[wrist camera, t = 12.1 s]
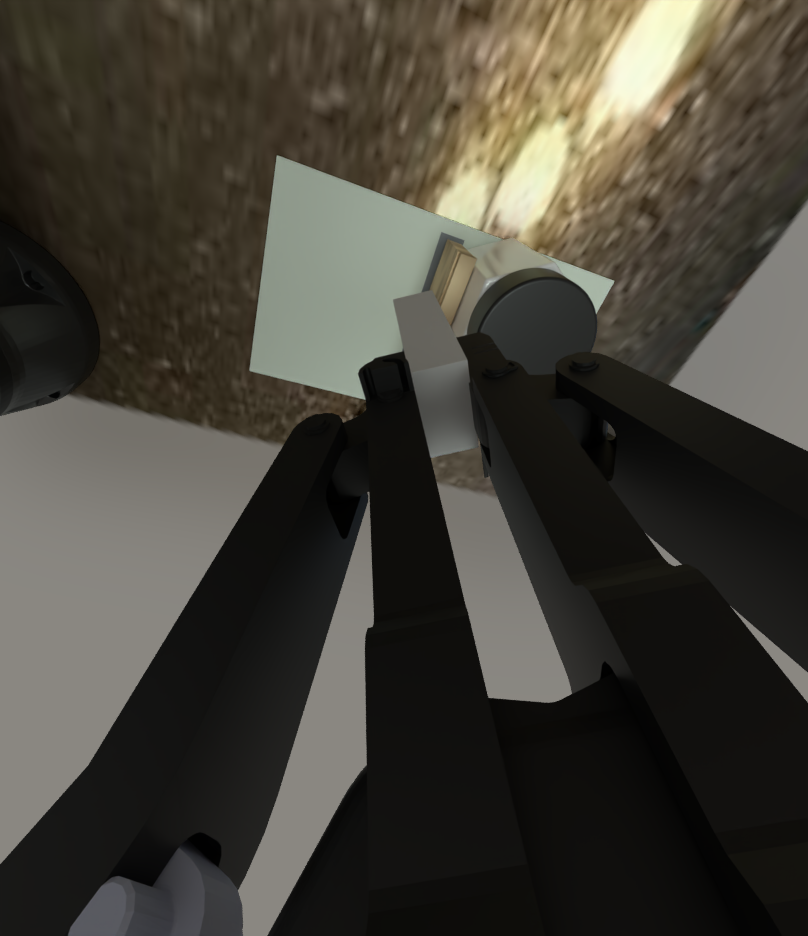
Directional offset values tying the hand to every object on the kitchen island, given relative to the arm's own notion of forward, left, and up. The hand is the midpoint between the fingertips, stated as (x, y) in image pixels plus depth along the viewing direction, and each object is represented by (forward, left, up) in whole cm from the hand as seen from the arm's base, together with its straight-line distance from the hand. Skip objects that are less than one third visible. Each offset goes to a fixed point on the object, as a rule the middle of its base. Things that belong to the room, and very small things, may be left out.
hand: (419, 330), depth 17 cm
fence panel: (+5, -4, -22) cm, 23 cm away
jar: (+10, -2, -22) cm, 24 cm away
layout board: (+5, -6, -22) cm, 24 cm away
